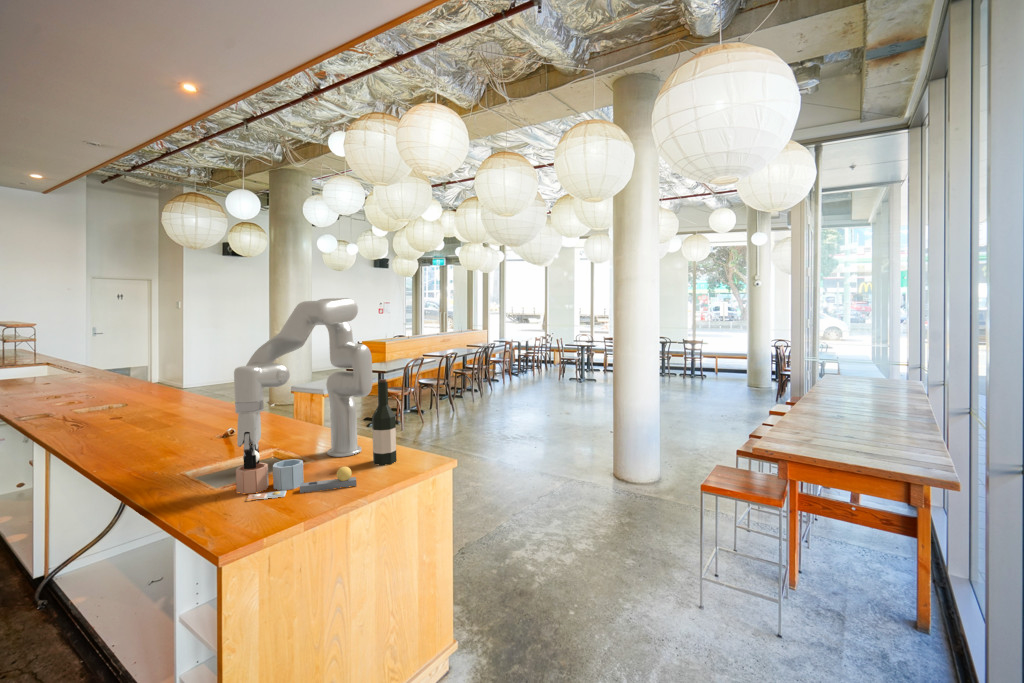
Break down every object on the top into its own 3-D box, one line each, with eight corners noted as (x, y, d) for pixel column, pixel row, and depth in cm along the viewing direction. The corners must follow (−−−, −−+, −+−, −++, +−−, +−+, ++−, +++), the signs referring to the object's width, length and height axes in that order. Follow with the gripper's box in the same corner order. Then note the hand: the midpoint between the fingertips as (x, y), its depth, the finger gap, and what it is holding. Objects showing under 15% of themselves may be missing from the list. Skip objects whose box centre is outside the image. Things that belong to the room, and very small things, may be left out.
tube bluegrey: (276, 482, 148) (275, 461, 148) (304, 479, 151) (303, 458, 151) (272, 491, 141) (271, 468, 140) (301, 488, 143) (301, 465, 143)
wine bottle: (368, 462, 168) (366, 379, 167) (388, 457, 175) (386, 377, 173) (380, 467, 163) (378, 381, 161) (401, 461, 169) (399, 379, 167)
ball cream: (245, 463, 143) (244, 448, 143) (261, 461, 145) (260, 447, 145) (241, 467, 139) (241, 452, 139) (258, 465, 141) (257, 451, 140)
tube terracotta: (240, 486, 145) (239, 464, 145) (270, 483, 148) (269, 461, 147) (234, 496, 137) (233, 472, 137) (265, 492, 140) (264, 469, 140)
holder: (301, 489, 142) (300, 483, 142) (356, 483, 147) (356, 476, 147) (300, 493, 139) (299, 486, 139) (356, 486, 144) (356, 479, 144)
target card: (249, 496, 137) (248, 493, 137) (286, 491, 140) (286, 489, 140) (245, 501, 133) (245, 499, 133) (284, 497, 136) (284, 494, 136)
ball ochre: (337, 479, 146) (336, 465, 146) (351, 477, 147) (351, 464, 147) (336, 484, 142) (336, 469, 141) (351, 482, 143) (351, 468, 143)
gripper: (241, 403, 148) (244, 459, 149) (228, 412, 132) (231, 476, 133) (268, 401, 150) (270, 457, 151) (258, 410, 135) (260, 473, 135)
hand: (251, 465), depth 142 cm, fingers closed on ball cream, 4 cm apart
